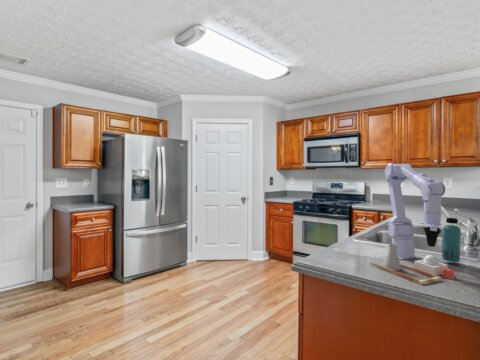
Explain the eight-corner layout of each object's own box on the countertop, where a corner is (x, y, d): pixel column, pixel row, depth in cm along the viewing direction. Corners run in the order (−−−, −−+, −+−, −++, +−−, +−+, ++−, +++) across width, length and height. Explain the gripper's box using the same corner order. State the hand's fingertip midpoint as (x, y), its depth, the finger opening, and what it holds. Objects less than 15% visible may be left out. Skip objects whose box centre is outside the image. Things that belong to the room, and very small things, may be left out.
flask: (378, 265, 122) (379, 242, 121) (394, 265, 122) (395, 242, 122) (388, 271, 114) (389, 246, 114) (406, 271, 115) (406, 246, 115)
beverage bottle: (457, 262, 127) (459, 217, 126) (462, 266, 121) (463, 219, 120) (440, 260, 130) (441, 216, 129) (443, 264, 124) (444, 218, 123)
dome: (428, 264, 118) (428, 252, 118) (441, 267, 113) (441, 256, 113) (420, 265, 116) (420, 253, 116) (432, 269, 111) (432, 257, 111)
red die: (445, 275, 110) (445, 267, 110) (454, 277, 108) (454, 269, 108) (442, 277, 108) (443, 269, 108) (452, 279, 106) (452, 271, 106)
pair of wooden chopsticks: (388, 262, 126) (388, 259, 126) (441, 280, 105) (441, 277, 105) (369, 264, 122) (369, 262, 122) (421, 284, 101) (421, 281, 101)
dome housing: (427, 267, 120) (427, 259, 120) (447, 273, 112) (447, 264, 112) (414, 269, 117) (414, 261, 117) (433, 276, 109) (433, 267, 109)
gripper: (418, 209, 122) (417, 240, 122) (421, 213, 109) (420, 248, 110) (438, 210, 119) (437, 242, 119) (444, 214, 106) (443, 251, 106)
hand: (431, 245), depth 114 cm, fingers closed
